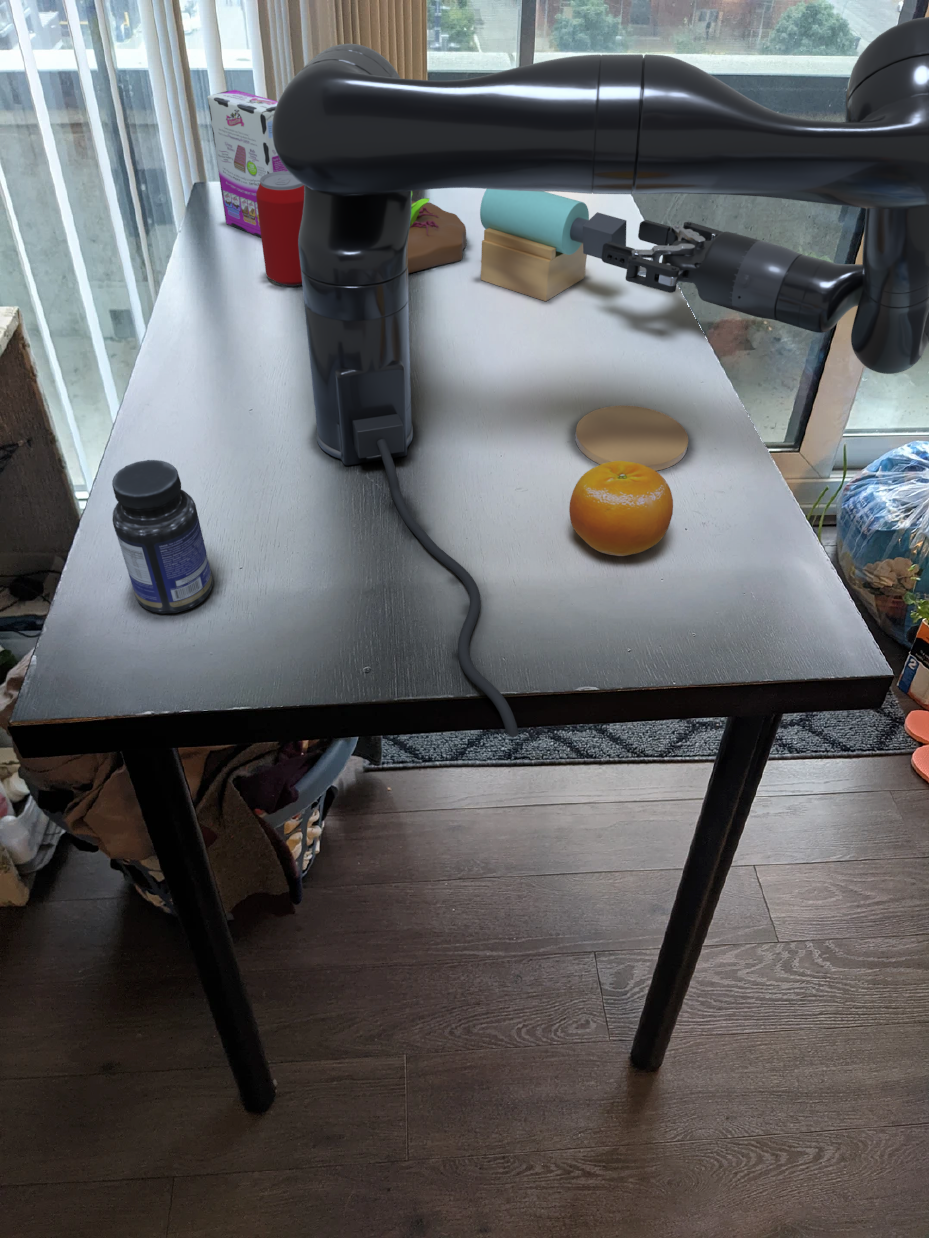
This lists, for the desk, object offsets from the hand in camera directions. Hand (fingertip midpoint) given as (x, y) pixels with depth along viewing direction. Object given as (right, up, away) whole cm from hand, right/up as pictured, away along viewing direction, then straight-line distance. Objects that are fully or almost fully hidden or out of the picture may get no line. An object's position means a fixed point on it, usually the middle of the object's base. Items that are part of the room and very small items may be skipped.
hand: (622, 239), depth 111 cm
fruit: (-5, -38, -28) cm, 47 cm away
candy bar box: (-46, +10, +21) cm, 52 cm away
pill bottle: (-42, -42, -34) cm, 69 cm away
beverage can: (-40, -1, +10) cm, 41 cm away
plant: (-28, +6, +18) cm, 34 cm away
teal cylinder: (-8, +3, +3) cm, 9 cm away
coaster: (-2, -27, -17) cm, 32 cm away
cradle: (-10, -1, +11) cm, 14 cm away
